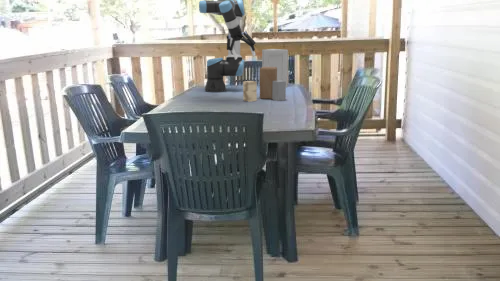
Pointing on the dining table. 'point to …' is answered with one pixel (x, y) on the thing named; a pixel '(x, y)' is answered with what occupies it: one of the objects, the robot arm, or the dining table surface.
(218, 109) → the dining table surface
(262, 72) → the block
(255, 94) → the oak block
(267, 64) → the white tall box
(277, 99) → the grey block
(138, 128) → the dining table surface
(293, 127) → the dining table surface
